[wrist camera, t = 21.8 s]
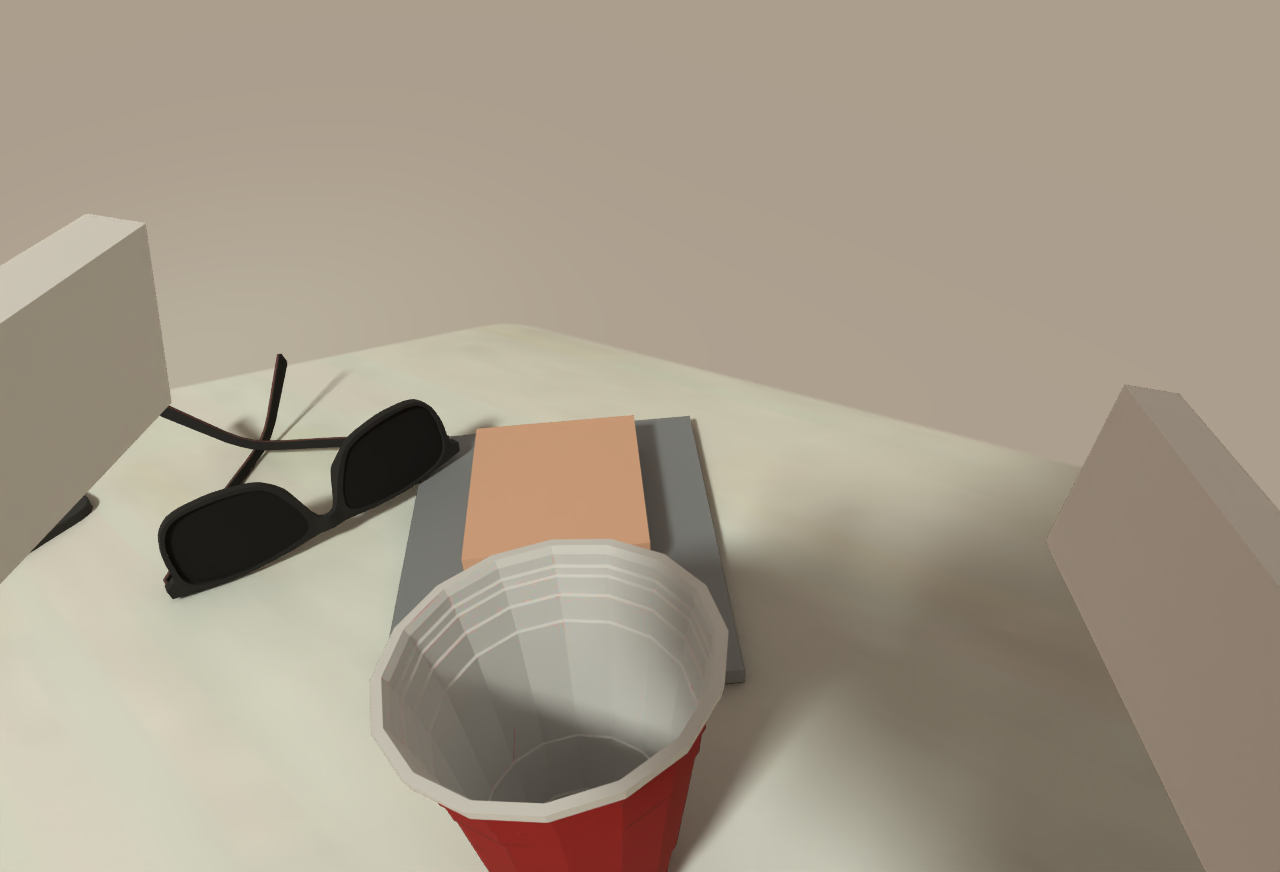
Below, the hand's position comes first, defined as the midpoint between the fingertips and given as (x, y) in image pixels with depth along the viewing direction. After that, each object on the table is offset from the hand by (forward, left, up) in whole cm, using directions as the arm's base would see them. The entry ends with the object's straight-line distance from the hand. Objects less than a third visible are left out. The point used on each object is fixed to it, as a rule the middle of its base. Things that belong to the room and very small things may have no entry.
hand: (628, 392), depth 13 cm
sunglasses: (+19, -34, -26) cm, 47 cm away
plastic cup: (+3, -8, -26) cm, 28 cm away
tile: (+3, -23, -24) cm, 33 cm away
